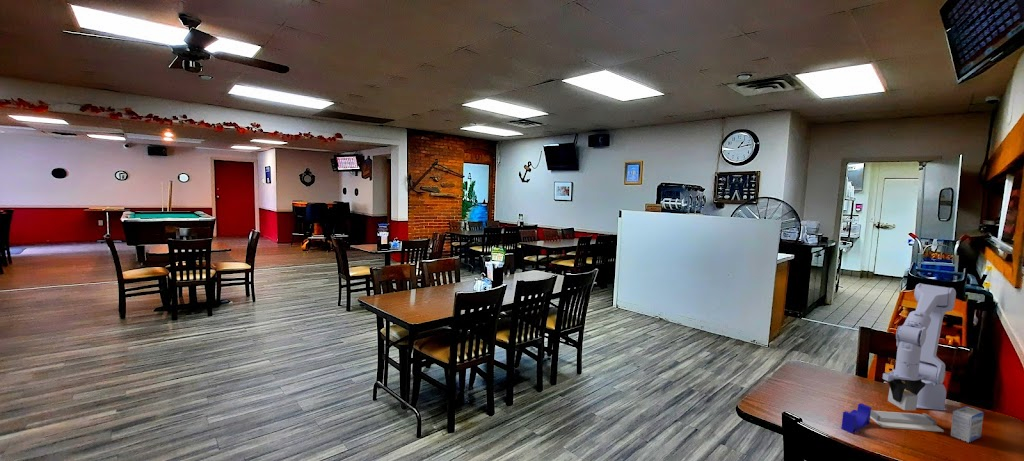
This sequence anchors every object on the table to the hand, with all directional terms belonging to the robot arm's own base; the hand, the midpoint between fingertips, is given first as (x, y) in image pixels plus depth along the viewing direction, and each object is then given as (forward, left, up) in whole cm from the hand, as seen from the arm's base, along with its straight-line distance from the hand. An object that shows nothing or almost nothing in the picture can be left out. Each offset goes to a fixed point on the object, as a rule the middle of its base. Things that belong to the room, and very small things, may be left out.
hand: (903, 400), depth 143 cm
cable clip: (+18, +5, -8) cm, 20 cm away
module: (0, 0, -2) cm, 2 cm away
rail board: (0, 0, -7) cm, 7 cm away
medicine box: (-14, +7, -8) cm, 17 cm away
